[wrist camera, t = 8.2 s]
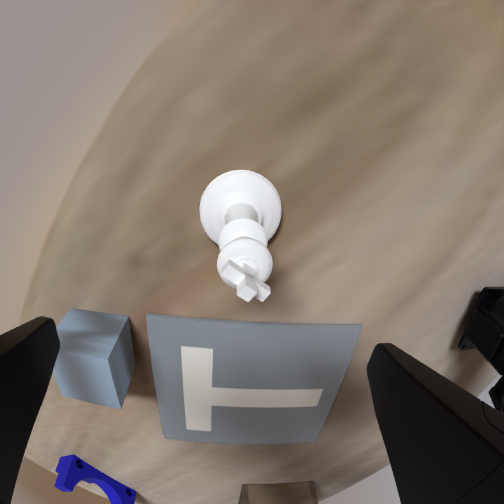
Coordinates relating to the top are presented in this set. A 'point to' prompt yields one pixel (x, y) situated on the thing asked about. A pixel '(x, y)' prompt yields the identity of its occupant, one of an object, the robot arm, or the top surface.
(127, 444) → the top surface
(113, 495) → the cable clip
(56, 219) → the top surface
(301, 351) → the letter sheet
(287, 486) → the open brown box
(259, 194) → the chess piece
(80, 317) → the blue cube
